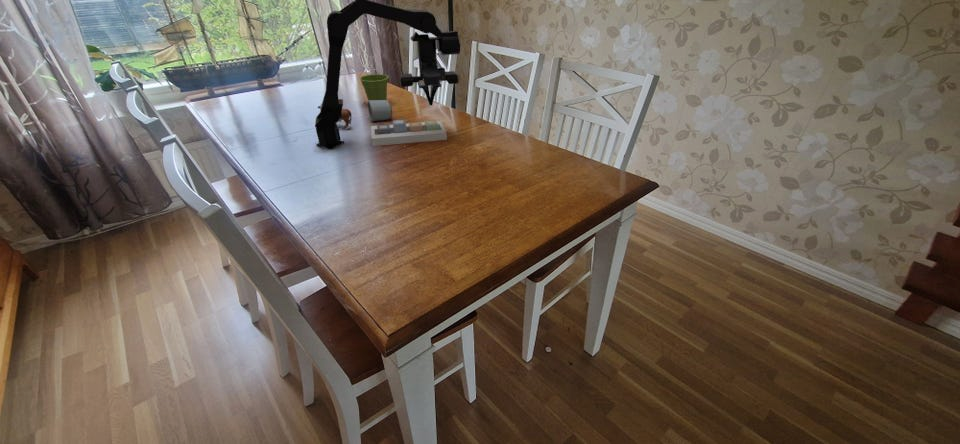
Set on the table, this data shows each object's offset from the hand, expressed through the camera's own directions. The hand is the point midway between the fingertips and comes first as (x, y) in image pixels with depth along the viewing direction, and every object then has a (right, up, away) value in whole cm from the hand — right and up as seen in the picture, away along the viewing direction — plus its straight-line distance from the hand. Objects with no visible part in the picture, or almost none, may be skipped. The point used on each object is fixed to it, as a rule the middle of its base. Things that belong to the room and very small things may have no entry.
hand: (430, 105), depth 128 cm
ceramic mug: (-23, 0, +19) cm, 30 cm away
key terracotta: (-6, -9, +4) cm, 11 cm away
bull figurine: (-36, -5, +11) cm, 38 cm away
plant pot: (-27, +11, +34) cm, 45 cm away
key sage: (0, -8, +5) cm, 9 cm away
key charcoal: (-16, -10, +2) cm, 19 cm away
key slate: (-11, -8, +2) cm, 14 cm away
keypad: (-8, -10, +4) cm, 13 cm away
